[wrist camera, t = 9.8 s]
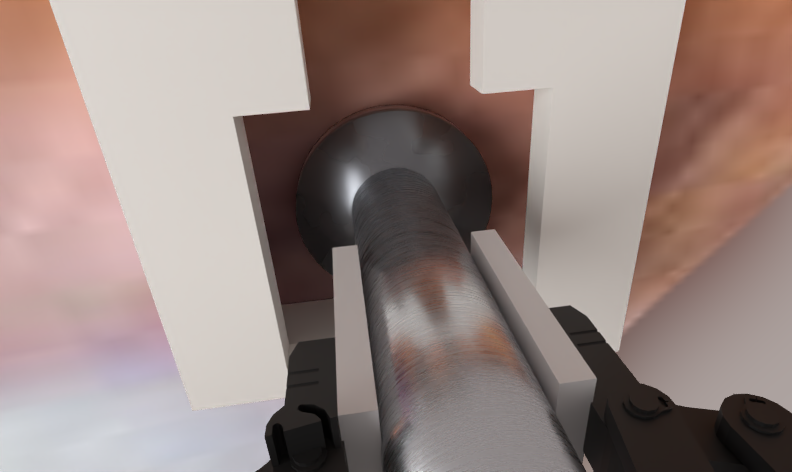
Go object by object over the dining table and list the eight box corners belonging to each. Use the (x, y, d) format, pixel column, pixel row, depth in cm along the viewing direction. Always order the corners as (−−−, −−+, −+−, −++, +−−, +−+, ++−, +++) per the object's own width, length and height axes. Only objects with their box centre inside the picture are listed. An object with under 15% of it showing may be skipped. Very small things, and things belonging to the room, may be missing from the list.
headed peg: (483, 269, 23) (827, 894, 7) (311, 290, 23) (282, 1029, 7) (487, 95, 19) (1202, 604, 4) (281, 114, 19) (58, 843, 3)
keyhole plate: (572, 293, 25) (618, 351, 21) (214, 339, 24) (192, 411, 20) (660, -399, 14) (790, -544, 10) (-3, -397, 13) (-150, -567, 9)
